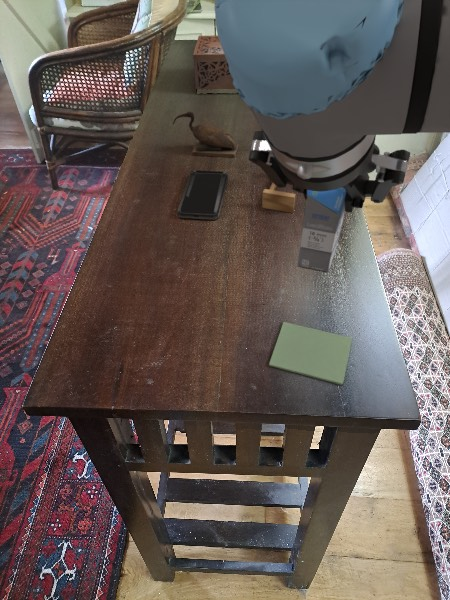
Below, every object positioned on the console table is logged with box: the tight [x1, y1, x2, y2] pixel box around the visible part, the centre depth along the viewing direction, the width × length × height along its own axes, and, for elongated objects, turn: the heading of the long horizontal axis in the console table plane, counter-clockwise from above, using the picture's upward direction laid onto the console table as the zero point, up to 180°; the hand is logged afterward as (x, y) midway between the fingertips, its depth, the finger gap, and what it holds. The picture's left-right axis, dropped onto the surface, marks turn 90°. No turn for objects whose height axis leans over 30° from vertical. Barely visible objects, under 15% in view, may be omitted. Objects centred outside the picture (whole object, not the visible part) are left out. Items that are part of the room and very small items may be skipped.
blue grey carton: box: [296, 187, 347, 273], centre depth 51 cm, size 9×4×12 cm, turn 160°
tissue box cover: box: [192, 35, 236, 90], centre depth 124 cm, size 26×14×10 cm, turn 87°
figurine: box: [172, 111, 239, 158], centre depth 100 cm, size 14×4×9 cm, turn 80°
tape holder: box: [261, 182, 297, 214], centre depth 89 cm, size 6×12×4 cm, turn 161°
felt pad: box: [268, 321, 353, 386], centre depth 64 cm, size 10×8×1 cm
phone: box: [177, 169, 229, 221], centre depth 90 cm, size 8×1×15 cm
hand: (332, 197), depth 55 cm, fingers closed on blue grey carton, 4 cm apart
